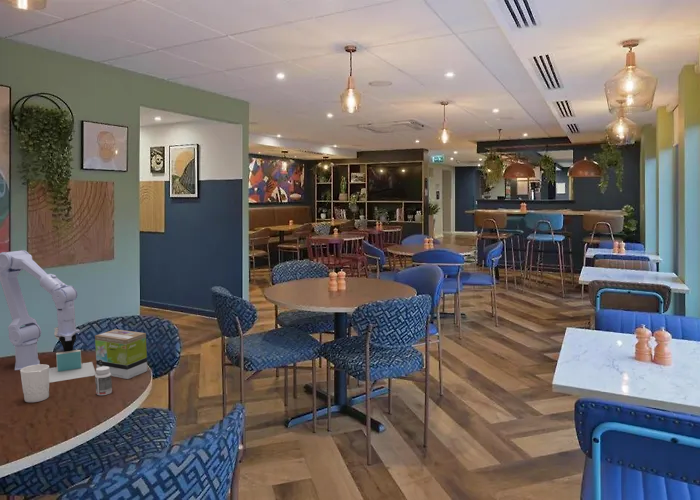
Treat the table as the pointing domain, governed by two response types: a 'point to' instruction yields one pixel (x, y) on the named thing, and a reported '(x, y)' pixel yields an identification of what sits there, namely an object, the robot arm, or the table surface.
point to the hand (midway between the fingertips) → (68, 355)
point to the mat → (72, 373)
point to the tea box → (122, 352)
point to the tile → (68, 360)
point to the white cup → (35, 382)
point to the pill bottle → (103, 381)
